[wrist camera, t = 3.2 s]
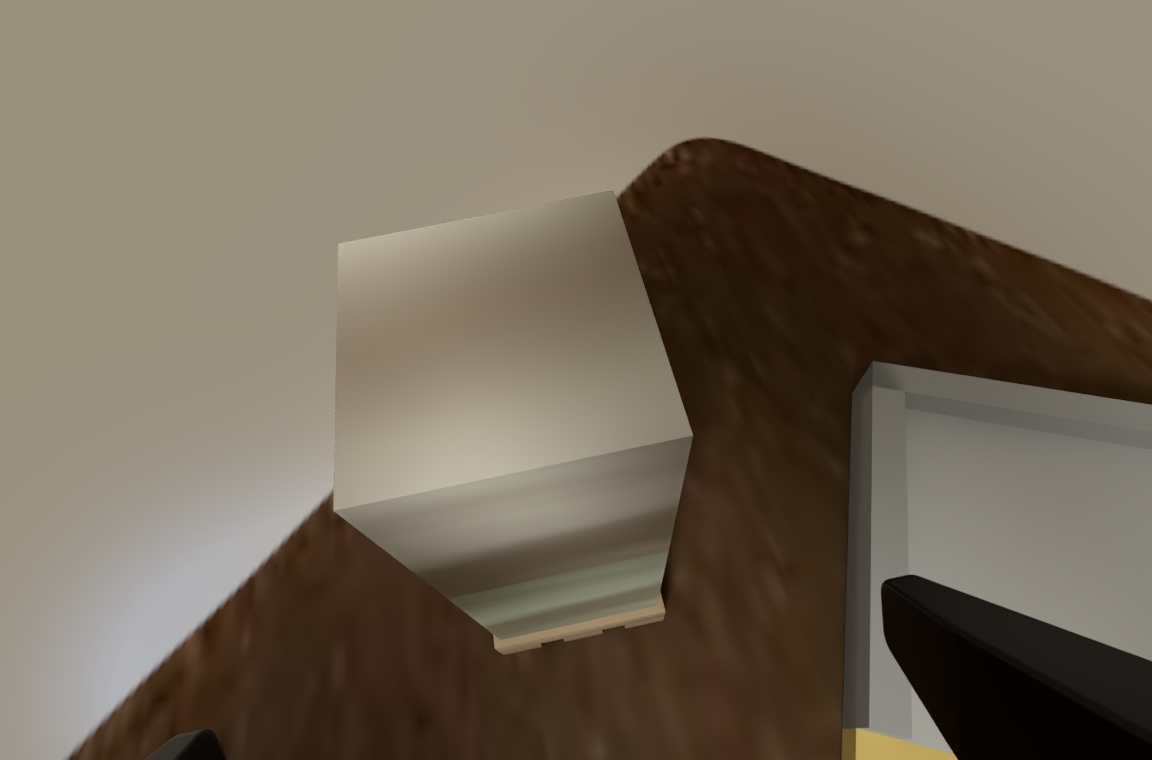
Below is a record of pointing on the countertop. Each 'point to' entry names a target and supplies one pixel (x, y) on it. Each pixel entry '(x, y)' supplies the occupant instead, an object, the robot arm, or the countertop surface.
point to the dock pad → (988, 525)
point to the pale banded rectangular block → (511, 418)
